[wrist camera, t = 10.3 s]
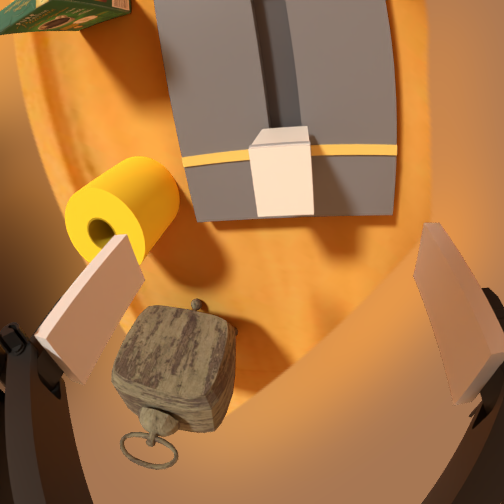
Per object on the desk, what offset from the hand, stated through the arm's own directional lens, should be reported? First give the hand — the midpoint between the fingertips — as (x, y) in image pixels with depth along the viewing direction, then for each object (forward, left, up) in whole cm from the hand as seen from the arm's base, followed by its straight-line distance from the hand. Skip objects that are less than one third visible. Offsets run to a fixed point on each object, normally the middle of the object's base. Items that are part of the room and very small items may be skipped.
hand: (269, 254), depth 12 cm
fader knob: (0, 0, -20) cm, 20 cm away
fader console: (-6, 0, -20) cm, 21 cm away
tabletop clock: (+23, -15, -20) cm, 34 cm away
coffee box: (-20, -18, -20) cm, 33 cm away
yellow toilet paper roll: (+4, -18, -20) cm, 27 cm away
